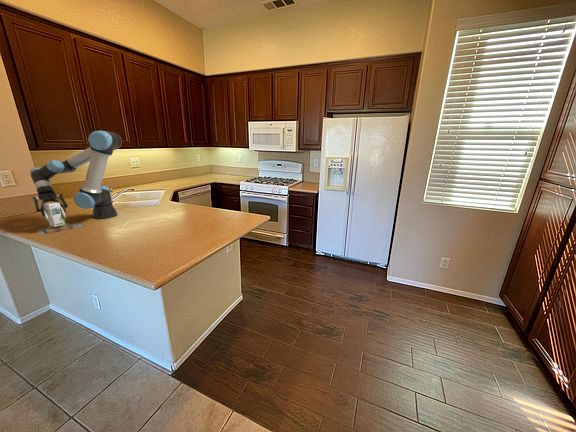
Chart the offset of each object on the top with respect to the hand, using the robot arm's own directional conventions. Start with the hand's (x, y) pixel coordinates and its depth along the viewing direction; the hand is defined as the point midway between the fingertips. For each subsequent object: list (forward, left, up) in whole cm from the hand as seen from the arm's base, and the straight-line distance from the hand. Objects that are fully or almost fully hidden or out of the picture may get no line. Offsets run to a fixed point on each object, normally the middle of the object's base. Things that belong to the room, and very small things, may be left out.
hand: (56, 217), depth 148 cm
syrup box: (0, -4, -6) cm, 7 cm away
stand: (0, -3, -8) cm, 9 cm away
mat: (-1, -5, -9) cm, 10 cm away
